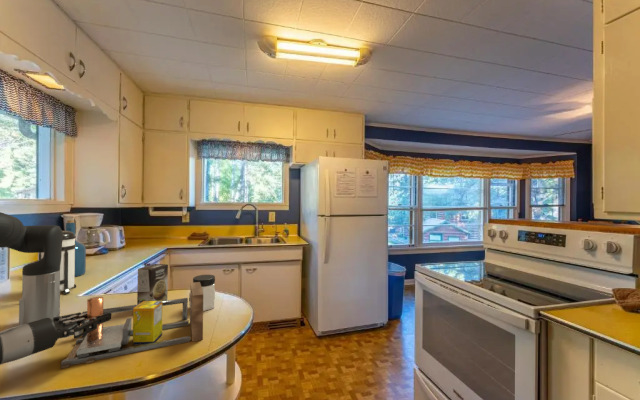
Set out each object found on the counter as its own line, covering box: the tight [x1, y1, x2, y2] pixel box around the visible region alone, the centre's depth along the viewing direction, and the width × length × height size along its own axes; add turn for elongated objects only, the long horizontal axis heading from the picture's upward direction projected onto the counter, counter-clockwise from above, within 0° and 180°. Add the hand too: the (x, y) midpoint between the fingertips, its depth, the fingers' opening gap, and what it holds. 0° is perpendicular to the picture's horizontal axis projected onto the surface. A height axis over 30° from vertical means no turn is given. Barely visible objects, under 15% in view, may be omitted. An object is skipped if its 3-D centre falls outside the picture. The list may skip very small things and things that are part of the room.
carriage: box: [76, 296, 133, 358], centre depth 82 cm, size 11×13×13 cm
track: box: [60, 319, 191, 369], centre depth 85 cm, size 30×15×1 cm, turn 117°
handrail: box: [81, 297, 189, 338], centre depth 95 cm, size 30×2×8 cm, turn 117°
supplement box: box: [132, 301, 163, 346], centre depth 86 cm, size 6×6×11 cm
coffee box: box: [136, 263, 169, 305], centre depth 112 cm, size 9×6×16 cm
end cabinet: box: [188, 282, 204, 342], centre depth 92 cm, size 4×14×14 cm, turn 27°
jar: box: [192, 274, 216, 312], centre depth 112 cm, size 9×8×12 cm
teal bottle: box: [64, 219, 87, 278], centre depth 153 cm, size 14×13×30 cm
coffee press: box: [37, 225, 77, 296], centre depth 125 cm, size 17×16×30 cm
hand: (106, 314), depth 83 cm, fingers closed on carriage, 3 cm apart
